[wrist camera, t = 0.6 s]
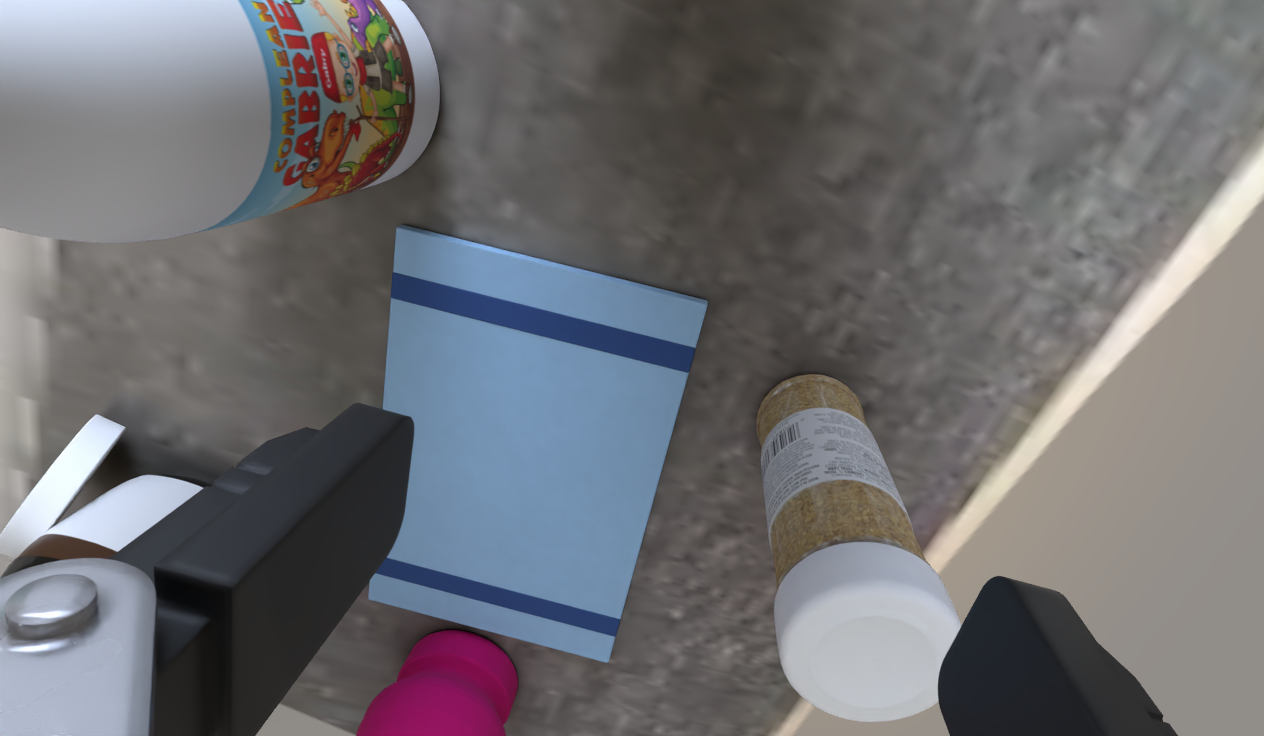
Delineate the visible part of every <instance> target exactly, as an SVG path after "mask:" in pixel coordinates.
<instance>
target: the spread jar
mask: <svg viewBox="0 0 1264 736" xmlns="http://www.w3.org/2000/svg"><path fill="white" fill-rule="evenodd" d="M125 429H126V427H124V426H122V425H120V424H117V423H115V422H113V421H111V420H108V419H106V418H104V417H102V416H99V415H95V416H94V417H92V418H91V419H90V420H89V421H88V422H87V424H86V425H85V426H84V427H83V428H82V429H81V430H80V431H79V433H78V434H77V435H76V436H75V437H74V439H73V440H72V441H71V442H70V443H69V445H68V446H67V447H66V448H65V449H64V451H63V452H62V453H61V454H60V456H59V457H58V458H57V459H56V461H55V462H54V463H53V464H52V466H51V467H50V468H49V469H48V471H47V472H46V473H45V475H44V476H43V477H42V478H41V480H40V481H39V482H38V484H37V485H36V486H35V488H34V489H33V490H32V491H31V493H30V494H29V495H28V497H27V498H26V499H25V501H24V502H23V504H22V505H21V506H20V508H19V509H18V510H17V512H16V513H15V514H14V516H13V517H12V519H11V520H10V521H9V523H8V524H7V526H6V527H5V529H4V530H3V531H2V533H1V534H0V553H1V554H4V555H7V556H10V557H13V558H15V560H14V561H13V562H12V563H11V564H10V565H9V566H8V567H7V569H6V570H5V572H4V573H3V574H2V576H1V577H0V579H1V578H3V577H5V576H8V575H10V574H12V573H15V572H18V571H21V570H24V569H27V568H30V567H33V566H37V565H41V564H45V563H49V562H55V561H61V560H67V559H78V558H101V559H109V558H110V557H111V556H113V555H114V554H115V553H117V552H118V551H119V550H121V549H122V548H123V547H125V546H126V545H127V544H129V543H130V542H131V541H133V540H134V539H136V538H137V537H138V536H140V535H141V534H142V533H144V532H145V531H146V530H148V529H149V528H150V527H152V526H153V525H154V524H156V523H157V522H159V521H160V520H161V519H163V518H164V517H165V516H167V515H168V514H169V513H171V512H172V511H173V510H175V509H176V508H177V507H179V506H180V505H182V504H183V503H184V502H186V501H187V500H188V499H190V498H191V497H192V496H194V495H195V494H196V493H198V492H199V491H200V490H202V489H203V488H204V487H206V486H209V487H211V486H212V484H211V483H207V482H204V481H201V480H197V479H193V478H188V477H182V476H174V475H166V474H156V475H143V476H139V477H137V478H134V479H131V480H128V481H126V482H124V483H122V484H120V485H118V486H116V487H114V488H113V489H111V490H109V491H107V492H106V493H104V494H103V495H101V496H99V497H98V498H96V499H95V500H93V501H92V502H90V503H89V504H87V505H86V506H84V507H83V508H81V509H79V510H78V511H76V512H75V513H73V514H72V515H70V516H69V517H67V518H66V519H64V520H63V521H61V522H60V523H58V522H59V520H60V519H61V518H62V516H63V515H64V514H65V512H66V511H67V510H68V508H69V507H70V506H71V504H72V503H73V502H74V500H75V499H76V498H77V496H78V495H79V494H80V492H81V491H82V490H83V488H84V487H85V486H86V484H87V483H88V481H89V480H90V479H91V477H92V476H93V475H94V473H95V472H96V471H97V469H98V468H99V466H100V465H101V464H102V462H103V461H104V460H105V458H106V457H107V455H108V454H109V453H110V451H111V450H112V448H113V447H114V446H115V444H116V443H117V441H118V440H119V438H120V437H121V435H122V434H123V432H124V431H125ZM57 523H58V524H57ZM56 524H57V525H56Z"/></svg>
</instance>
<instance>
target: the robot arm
mask: <svg viewBox="0 0 1264 736" xmlns="http://www.w3.org/2000/svg"><path fill="white" fill-rule="evenodd" d="M413 440H414V422H413V419H412V418H411V417H410V416H406V415H402V414H398V413H395V412H391V411H387V410H383V409H380V408H376V407H372V406H368V405H365V404H361V403H355V404H353V405H351V406H350V407H349V408H348V409H346V410H345V411H344V412H343V413H341V414H340V415H339V416H338V417H336V418H335V419H334V420H333V421H332V422H330V423H329V424H328V425H327V426H325V427H324V428H323V429H322V430H320V431H319V430H315V429H311V428H308V427H305V428H303V429H300V430H297V431H294V432H291V433H289V434H286V435H283V436H280V437H277V438H275V439H272V440H269V441H267V442H265V443H264V444H263V445H261V446H260V447H259V448H257V449H256V450H255V451H253V452H252V453H250V454H249V455H248V456H246V457H245V458H244V459H242V460H241V461H240V462H238V465H237V467H236V468H234V467H232V468H230V469H229V470H227V471H226V472H225V473H223V474H222V475H221V476H219V477H218V478H217V479H215V480H214V481H213V484H212V486H211V487H209V486H206V487H204V488H203V489H202V490H200V491H199V492H198V493H196V494H195V495H194V496H192V497H191V498H190V499H188V500H187V501H186V502H184V503H183V504H182V505H180V506H179V507H177V508H176V509H175V510H173V511H172V512H171V513H169V514H168V515H167V516H165V517H164V518H163V519H161V520H160V521H159V522H157V523H156V524H154V525H153V526H152V527H150V528H149V529H148V530H146V531H145V532H144V533H142V534H141V535H140V536H138V537H137V538H136V539H134V540H133V541H131V542H130V543H129V544H127V545H126V546H125V547H123V548H122V549H121V550H119V551H118V552H117V553H115V554H114V555H113V556H111V557H110V558H109V559H101V558H78V559H67V560H61V561H55V562H49V563H45V564H41V565H37V566H33V567H30V568H27V569H24V570H21V571H18V572H15V573H12V574H10V575H8V576H5V577H3V578H1V579H0V736H255V735H256V734H257V733H258V731H259V730H260V728H261V727H262V726H263V724H264V723H265V721H266V720H267V719H268V717H269V716H270V715H271V714H272V712H273V711H274V709H275V708H276V707H277V705H278V704H279V703H280V701H281V700H282V699H283V697H284V696H285V695H286V693H287V692H288V691H289V689H290V688H291V686H292V685H293V684H294V682H295V681H296V680H297V678H298V677H299V676H300V674H301V673H302V672H303V670H304V669H305V667H306V666H307V665H308V663H309V662H310V661H311V659H312V658H313V657H314V655H315V654H316V653H317V651H318V650H319V649H320V647H321V646H322V644H323V643H324V642H325V640H326V639H327V638H328V636H329V635H330V634H331V632H332V631H333V630H334V628H335V627H336V625H337V624H338V623H339V621H340V620H341V619H342V617H343V616H344V615H345V613H346V612H347V611H348V609H349V608H350V606H351V605H352V604H353V602H354V601H355V600H356V598H357V597H358V596H359V594H360V593H361V592H362V590H363V589H364V588H365V586H366V585H367V583H368V582H369V581H370V579H371V578H372V577H373V575H374V574H375V573H376V571H377V570H378V569H379V567H380V566H381V564H382V563H383V562H384V560H385V559H386V558H387V556H388V555H389V553H390V551H391V550H392V548H393V546H394V544H395V542H396V539H397V537H398V534H399V532H400V529H401V526H402V522H403V518H404V513H405V507H406V498H407V490H408V482H409V474H410V465H411V457H412V449H413ZM938 700H939V705H940V709H941V712H942V715H943V718H944V720H945V723H946V725H947V729H948V731H949V734H950V736H1178V735H1177V734H1176V732H1175V731H1174V730H1173V728H1172V727H1171V726H1170V724H1168V723H1165V722H1163V720H1162V718H1163V715H1162V713H1161V712H1160V711H1159V709H1158V708H1157V706H1156V705H1155V704H1154V702H1153V701H1152V700H1151V698H1150V697H1149V696H1148V694H1147V693H1146V691H1145V690H1144V689H1143V687H1142V686H1141V684H1140V683H1139V682H1138V680H1137V679H1136V678H1135V677H1134V676H1133V675H1132V674H1131V673H1130V672H1129V671H1128V670H1127V669H1125V667H1123V666H1122V665H1121V664H1120V663H1119V662H1118V661H1117V660H1116V659H1115V658H1114V657H1113V656H1112V655H1110V654H1109V653H1108V652H1107V651H1106V650H1105V649H1104V648H1103V647H1102V646H1101V645H1100V644H1098V643H1097V641H1096V640H1095V638H1094V637H1093V635H1092V634H1091V633H1090V631H1089V630H1088V629H1087V627H1086V626H1085V624H1084V623H1083V621H1082V620H1081V618H1080V617H1079V616H1078V614H1077V613H1076V611H1075V610H1074V609H1073V607H1072V606H1071V604H1070V603H1069V601H1068V600H1067V599H1066V598H1065V597H1064V596H1063V595H1062V594H1061V593H1059V592H1057V591H1055V590H1051V589H1047V588H1043V587H1040V586H1036V585H1032V584H1028V583H1024V582H1021V581H1017V580H1013V579H1010V578H1006V577H1002V576H997V577H993V578H991V579H990V580H989V581H988V582H987V583H986V584H985V585H984V586H983V588H982V590H981V591H980V593H979V595H978V597H977V599H976V601H975V602H974V604H973V606H972V608H971V610H970V612H969V613H968V615H967V617H966V619H965V621H964V623H963V625H962V626H961V628H960V630H959V632H958V634H957V635H956V637H955V639H954V641H953V643H952V645H951V646H950V648H949V650H948V652H947V654H946V656H945V658H944V660H943V662H942V665H941V668H940V672H939V678H938Z"/></svg>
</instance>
